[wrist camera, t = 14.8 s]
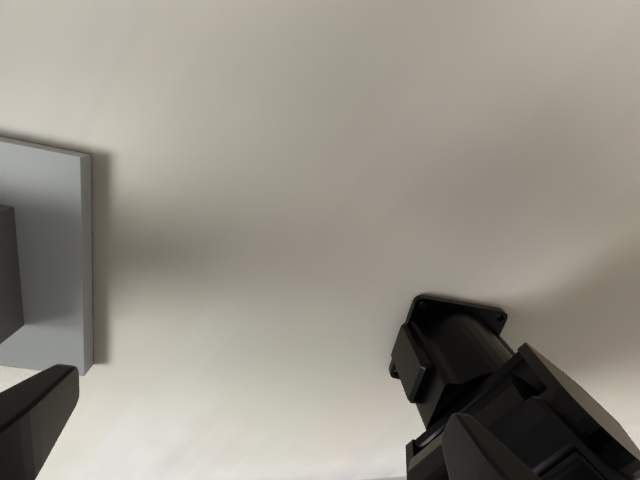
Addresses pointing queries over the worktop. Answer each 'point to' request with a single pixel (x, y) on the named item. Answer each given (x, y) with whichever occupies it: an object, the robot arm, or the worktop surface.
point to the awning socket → (45, 257)
